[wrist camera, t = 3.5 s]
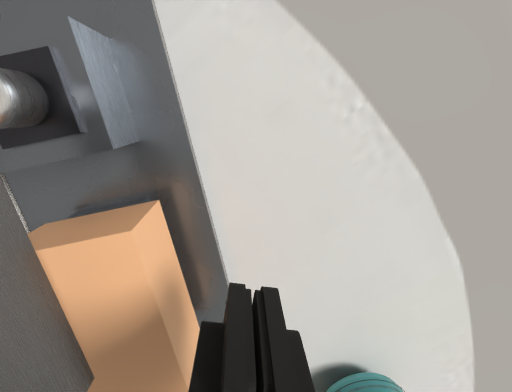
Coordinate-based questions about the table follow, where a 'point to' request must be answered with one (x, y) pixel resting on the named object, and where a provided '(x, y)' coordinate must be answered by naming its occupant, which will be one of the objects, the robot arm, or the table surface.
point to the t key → (31, 279)
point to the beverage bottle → (365, 384)
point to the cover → (123, 297)
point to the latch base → (107, 129)
